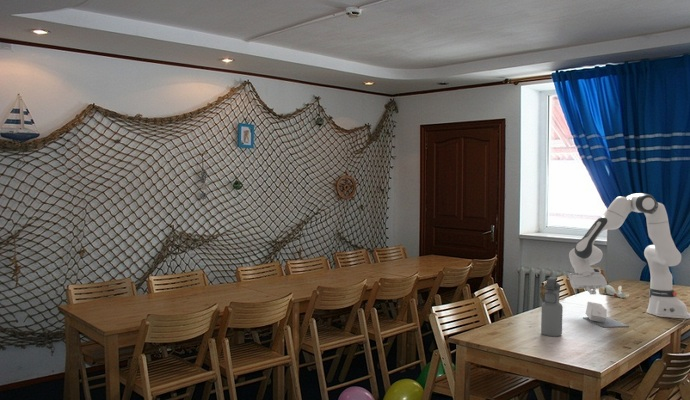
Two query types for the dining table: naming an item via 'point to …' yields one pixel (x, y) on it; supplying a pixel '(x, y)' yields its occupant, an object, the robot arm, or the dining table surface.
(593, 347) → the dining table surface
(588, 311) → the milk carton
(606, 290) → the toy dog
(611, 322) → the mat
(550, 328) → the water bottle
